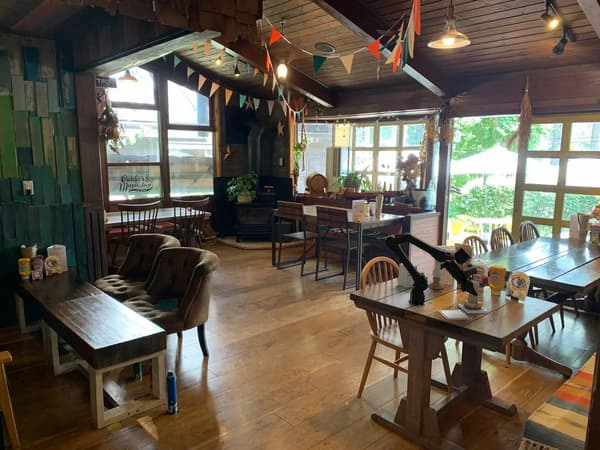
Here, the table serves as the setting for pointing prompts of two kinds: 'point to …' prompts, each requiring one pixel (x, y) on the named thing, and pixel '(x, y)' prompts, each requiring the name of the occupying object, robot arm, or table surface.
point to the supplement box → (405, 277)
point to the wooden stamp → (473, 299)
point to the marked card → (454, 314)
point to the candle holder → (436, 277)
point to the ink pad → (469, 310)
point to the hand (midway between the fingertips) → (476, 294)
